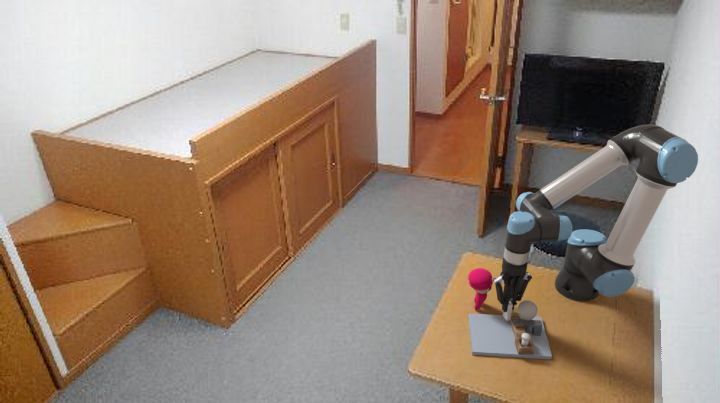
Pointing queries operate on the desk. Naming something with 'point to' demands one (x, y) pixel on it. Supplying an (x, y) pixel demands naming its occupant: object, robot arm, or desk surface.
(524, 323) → the keeper
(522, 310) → the lightbulb
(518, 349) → the link
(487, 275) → the toy
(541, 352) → the board
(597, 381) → the desk surface
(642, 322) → the desk surface
